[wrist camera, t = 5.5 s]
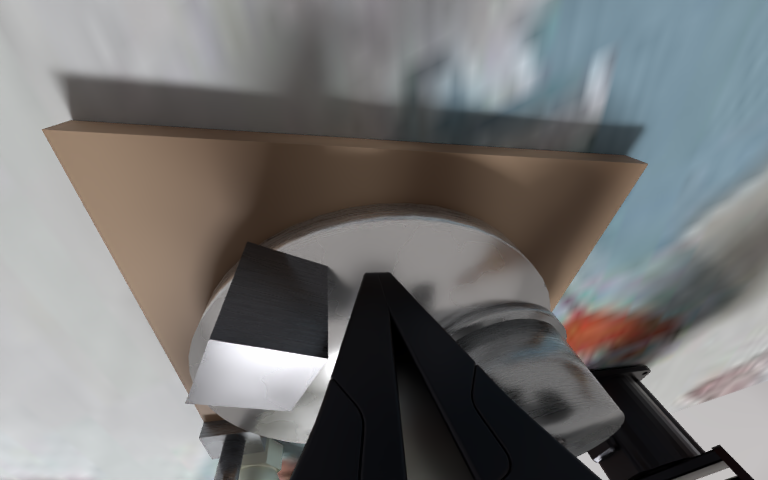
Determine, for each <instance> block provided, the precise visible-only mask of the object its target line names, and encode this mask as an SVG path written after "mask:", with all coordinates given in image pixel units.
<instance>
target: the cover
mask: <svg viewBox="0 0 768 480" xmlns="http://www.w3.org/2000/svg"><path fill="white" fill-rule="evenodd" d="M444 329H445V330H446V331H447V333H448V334H449V335H450V336H451V337H452V338H453V339H454V340H455V341H456V342H457V343H458V344H459V345H460V346H461V347H462V348H463V349H464V350H465V351H466V353H467V354H468V355H469V356H470V357H471V358H472V359H473V360H474V361H475V363H476V364H475V365H479V366H480V367H481V368H482V369H483V370H484V371H485V372H486V373H487V374H488V376H489V377H490V378H491V379H492V380H493V381H494V382H495V383H496V384H497V385H498V386H499V387H500V388H501V389H502V390H503V391H504V392H505V393H506V394H507V395H508V396H509V397H510V398H511V399H512V400H514V401H515V402H516V403H517V404H518V405H519V406H520V407H521V408H522V409H523V410H524V411H525V412H526V413H528V414H529V415H530V416H531V417H532V418H533V419H534V420H535V421H536V422H537V423H539V424H540V425H541V426H542V427H543V428H544V429H545V430H546V431H547V432H549V433H550V434H551V435H552V436H553V437H554V438H555V439H556V440H558V441H559V442H560V443H561V444H562V445H563V446H564V447H565V448H567V449H568V450H569V451H570V452H571V453H572V454H573V455H574V456H576V457H577V456H579V455H581V454H583V453H585V452H587V451H589V450H591V449H593V448H594V447H596V446H598V445H599V444H601V443H602V442H604V441H605V440H607V439H608V438H609V437H611V436H612V435H613V434H614V433H615V432H616V431H617V430H618V429H619V428H620V427H621V426H622V424H623V422H624V419H625V416H624V413H623V412H622V411H621V410H620V408H619V407H618V406H617V405H616V403H615V402H614V401H613V400H612V398H611V397H610V396H609V395H608V393H607V392H606V391H605V390H604V388H603V387H602V386H601V385H600V383H599V382H598V381H597V379H596V378H595V377H594V376H593V374H592V373H591V372H590V371H589V369H588V368H587V367H586V366H585V364H584V363H583V362H582V361H581V359H580V358H579V357H578V356H577V354H576V353H575V352H574V351H573V349H572V348H571V347H570V346H569V344H568V343H567V342H566V338H567V335H566V330H565V328H564V326H563V325H562V324H561V323H560V322H559V320H558V319H557V318H556V317H555V315H554V314H553V313H552V312H551V311H550V310H548V309H547V308H545V307H543V306H540V305H536V304H532V303H518V302H515V303H505V304H499V305H494V306H491V307H487V308H483V309H481V310H478V311H475V312H472V313H470V314H468V315H466V316H463V317H461V318H460V319H458V320H456V321H454V322H452V323H451V324H449V325H448V326H446V327H445V328H444Z"/></svg>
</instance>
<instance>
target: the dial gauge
mask: <svg viewBox="0 0 768 480" xmlns="http://www.w3.org/2000/svg"><path fill="white" fill-rule="evenodd" d="M199 439H200V441H201V442H202V444H203V445H204V447H205V449H206V450H207V452H208V454H209V455H210V457H211V458H212V459H217V458H220V459H219V462H218V466H217V470H216V474H215V478H214V480H238V479H239V474H240V469H241V464H242V459H243V455H244V454H251V453H258V452H265V446H266V439H267V437H264V436H261V435H257V434H254V433H251V432H249V431H246V430H244V429H242V428H239V427H237V426H235V425H233V424H232V423H230V422H228V421H226V420H218V421H210V422H204V424H203V427H202V430H201V433H200V437H199Z"/></svg>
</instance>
